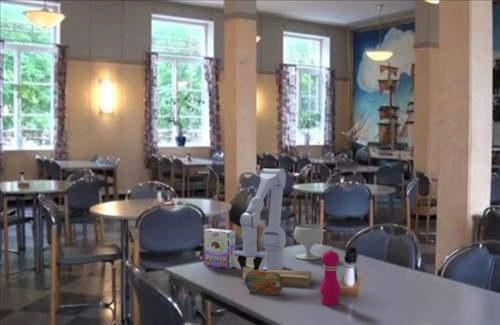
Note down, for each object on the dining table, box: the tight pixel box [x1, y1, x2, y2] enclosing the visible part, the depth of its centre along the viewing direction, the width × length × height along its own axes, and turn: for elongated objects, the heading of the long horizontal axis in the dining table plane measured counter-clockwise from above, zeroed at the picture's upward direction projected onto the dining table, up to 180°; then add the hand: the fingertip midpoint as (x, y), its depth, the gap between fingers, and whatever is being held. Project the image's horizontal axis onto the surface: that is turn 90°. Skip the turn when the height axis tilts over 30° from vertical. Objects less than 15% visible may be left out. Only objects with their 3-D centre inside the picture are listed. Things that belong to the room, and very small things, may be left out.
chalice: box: [293, 223, 324, 261], centre depth 270 cm, size 14×14×15 cm
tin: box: [244, 269, 284, 296], centre depth 213 cm, size 15×3×8 cm, turn 62°
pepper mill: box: [319, 246, 342, 307], centre depth 200 cm, size 7×7×20 cm
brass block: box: [266, 269, 312, 288], centre depth 227 cm, size 10×18×4 cm, turn 77°
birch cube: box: [242, 264, 254, 281], centre depth 233 cm, size 4×4×5 cm
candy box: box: [203, 227, 236, 270], centre depth 253 cm, size 14×6×16 cm, turn 58°
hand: (249, 274), depth 233 cm, fingers closed on birch cube, 4 cm apart
